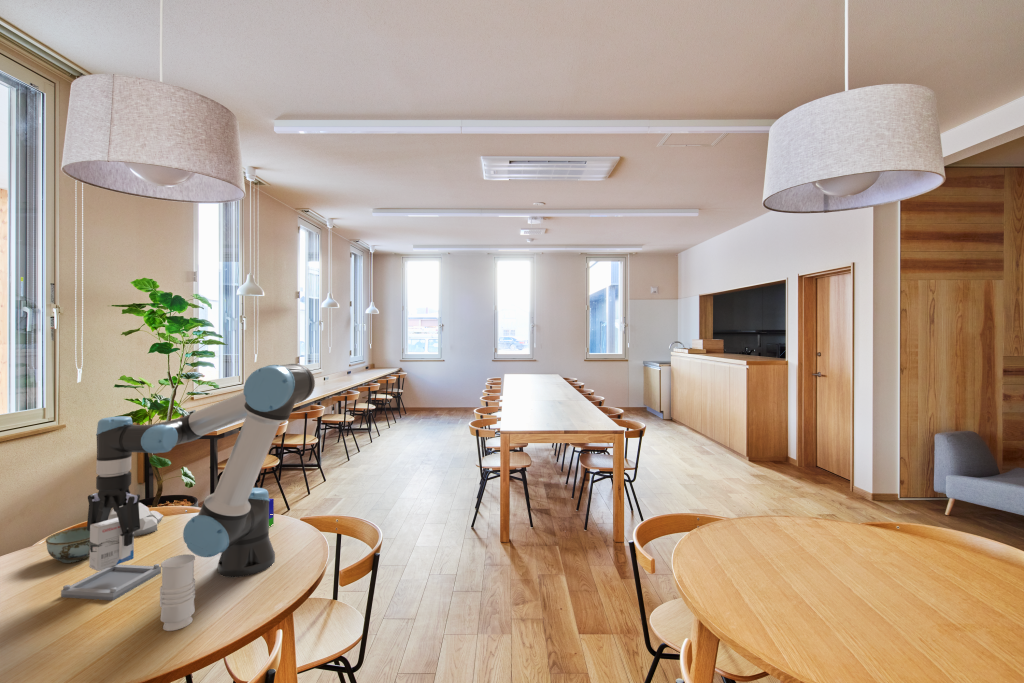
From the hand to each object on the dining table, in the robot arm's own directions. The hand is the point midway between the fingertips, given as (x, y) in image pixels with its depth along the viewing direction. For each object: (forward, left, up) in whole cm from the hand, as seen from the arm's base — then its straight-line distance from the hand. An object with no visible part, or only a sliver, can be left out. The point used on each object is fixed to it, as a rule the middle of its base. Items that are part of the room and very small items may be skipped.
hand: (113, 556), depth 133 cm
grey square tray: (0, 0, -8) cm, 8 cm away
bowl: (+26, -13, -8) cm, 30 cm away
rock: (+29, -36, -8) cm, 47 cm away
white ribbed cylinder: (-32, +15, -8) cm, 36 cm away
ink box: (0, 0, -2) cm, 2 cm away
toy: (-13, -41, -8) cm, 44 cm away
